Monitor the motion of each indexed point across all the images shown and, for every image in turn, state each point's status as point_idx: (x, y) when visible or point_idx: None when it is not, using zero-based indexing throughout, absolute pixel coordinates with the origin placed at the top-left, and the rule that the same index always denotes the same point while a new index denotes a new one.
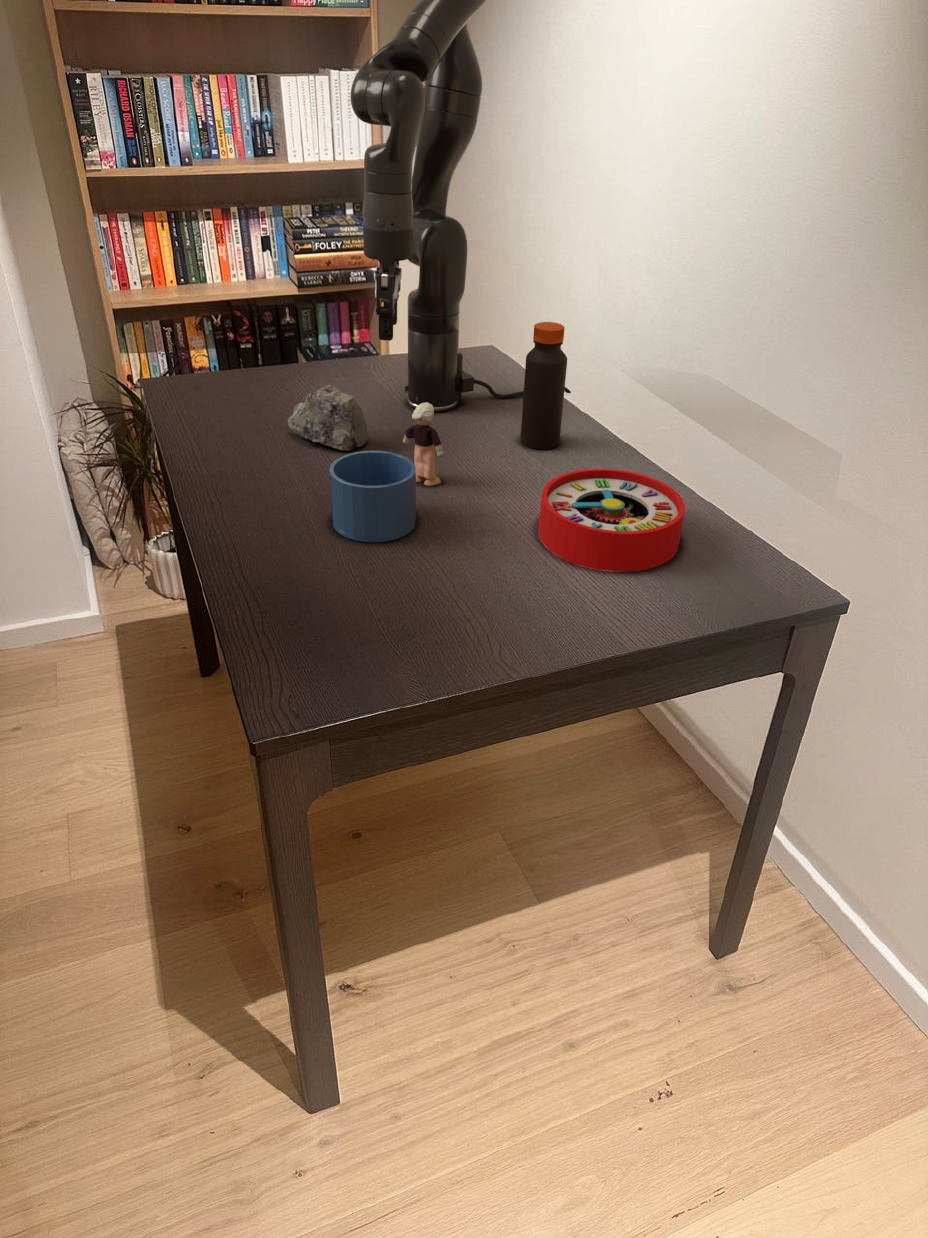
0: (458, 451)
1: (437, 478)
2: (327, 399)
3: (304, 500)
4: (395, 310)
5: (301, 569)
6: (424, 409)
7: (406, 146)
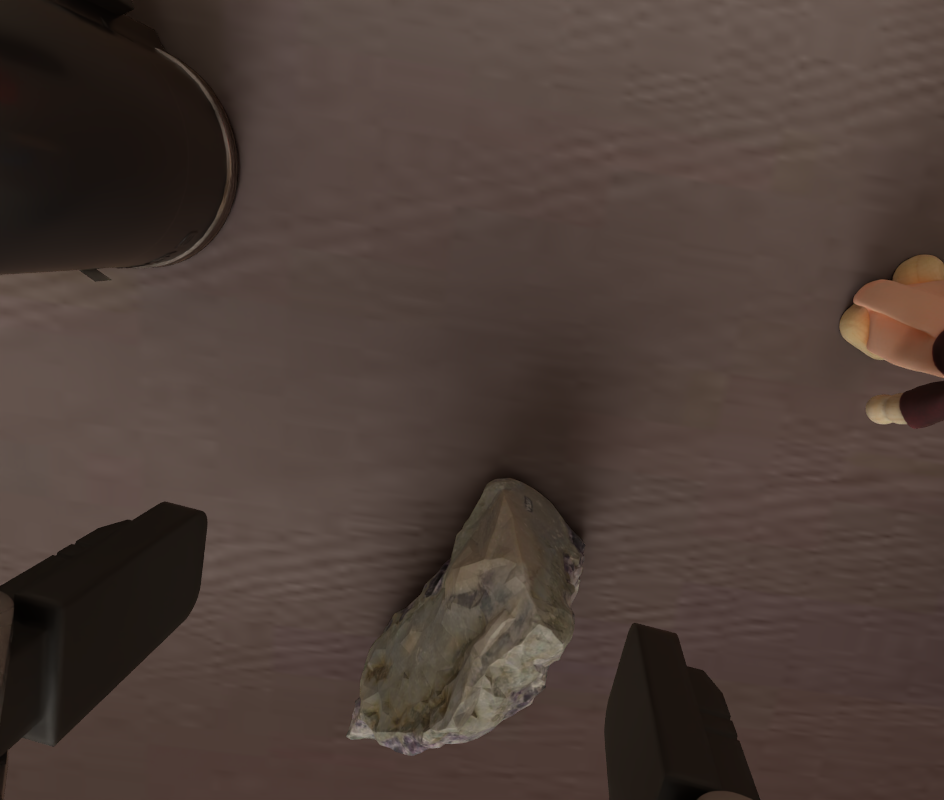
0: (643, 128)
1: (939, 269)
2: (509, 711)
3: (932, 722)
4: (130, 574)
5: None
6: None
7: None
